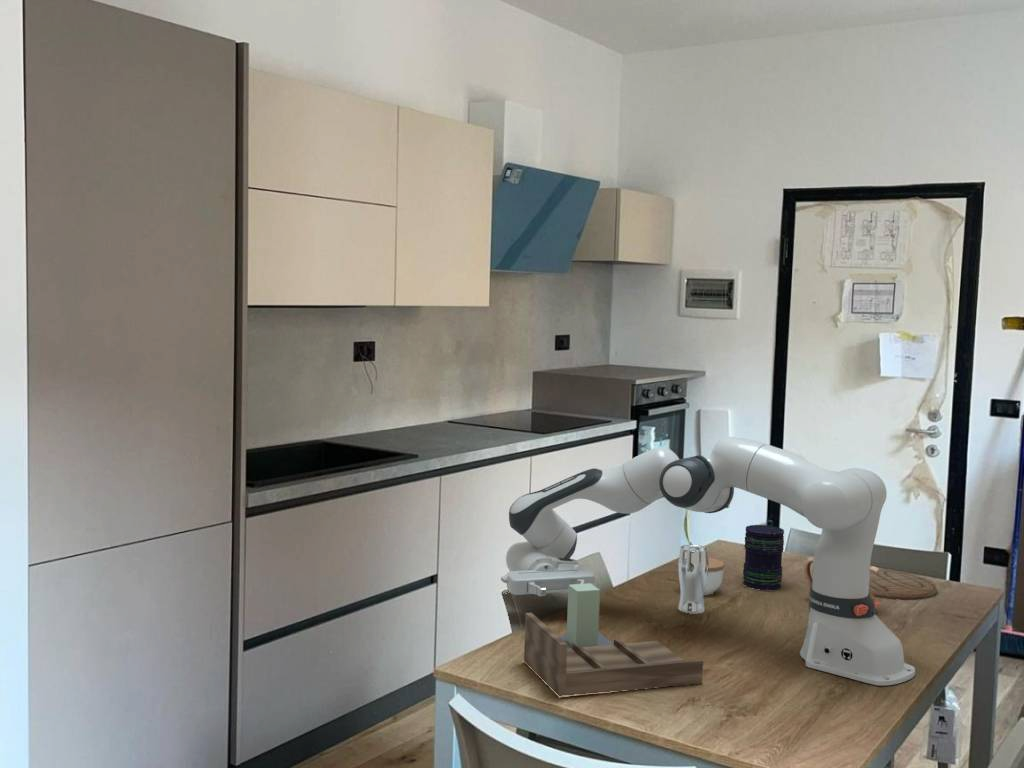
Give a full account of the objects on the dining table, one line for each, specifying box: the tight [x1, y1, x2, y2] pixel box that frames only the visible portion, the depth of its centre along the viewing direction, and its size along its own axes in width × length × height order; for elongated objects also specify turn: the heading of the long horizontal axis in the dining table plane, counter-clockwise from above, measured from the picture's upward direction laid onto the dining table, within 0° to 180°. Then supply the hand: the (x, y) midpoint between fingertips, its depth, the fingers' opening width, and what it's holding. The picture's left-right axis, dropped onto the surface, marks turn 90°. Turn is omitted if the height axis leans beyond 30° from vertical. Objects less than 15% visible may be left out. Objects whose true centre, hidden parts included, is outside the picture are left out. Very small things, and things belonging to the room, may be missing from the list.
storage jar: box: [742, 524, 785, 591], centre depth 261 cm, size 10×10×15 cm
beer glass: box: [677, 544, 710, 615], centre depth 238 cm, size 7×7×15 cm
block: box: [566, 583, 601, 647], centre depth 211 cm, size 5×5×12 cm
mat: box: [556, 631, 614, 649], centre depth 211 cm, size 12×13×1 cm
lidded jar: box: [703, 557, 725, 596], centre depth 254 cm, size 11×11×9 cm
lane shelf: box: [523, 612, 704, 696], centre depth 196 cm, size 19×29×10 cm, turn 109°
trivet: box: [869, 567, 938, 601], centre depth 265 cm, size 25×25×2 cm
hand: (562, 591), depth 221 cm, fingers open, 8 cm apart
